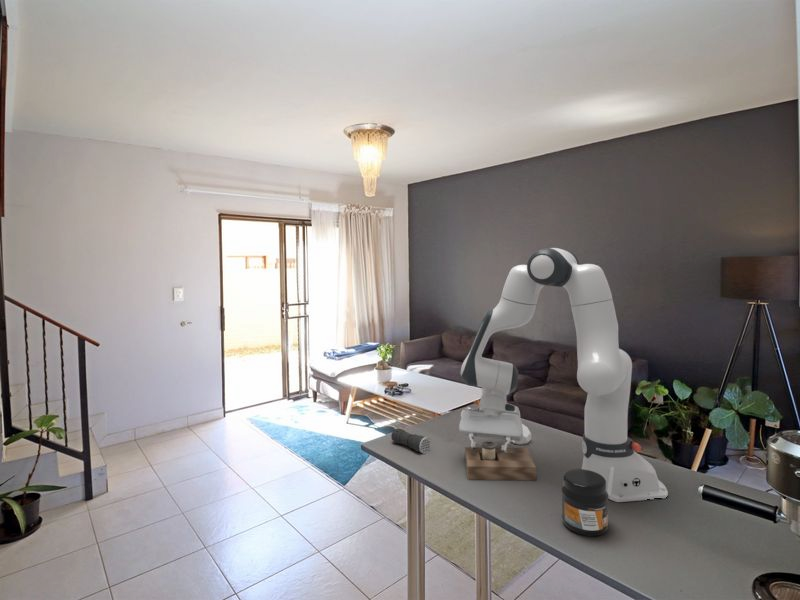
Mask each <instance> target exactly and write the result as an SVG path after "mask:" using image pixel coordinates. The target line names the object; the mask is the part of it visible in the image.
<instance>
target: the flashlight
mask: <svg viewBox="0 0 800 600" xmlns="http://www.w3.org/2000/svg"><path fill="white" fill-rule="evenodd" d="M391 440H392V442H393V443H395V444H398V445H403V446H407V447H409V448H411V449H413V450H414V451H416V452H419V453H421V454H426V453H429V451H430V449H431V446H432V442H431V439H430V438H429V437H426V436H424V435H419V434H416V433H415V434H412V433H409V432H408V431H405V430H404V429H402V428H394V429H393V430H392V433H391Z"/></svg>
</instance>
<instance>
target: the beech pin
mask: <svg viewBox="0 0 800 600" xmlns="http://www.w3.org/2000/svg"><path fill="white" fill-rule="evenodd" d="M481 447H482V460H489V461H495V448H496V443H495V442H493V441H483V442H482V443H481Z"/></svg>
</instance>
